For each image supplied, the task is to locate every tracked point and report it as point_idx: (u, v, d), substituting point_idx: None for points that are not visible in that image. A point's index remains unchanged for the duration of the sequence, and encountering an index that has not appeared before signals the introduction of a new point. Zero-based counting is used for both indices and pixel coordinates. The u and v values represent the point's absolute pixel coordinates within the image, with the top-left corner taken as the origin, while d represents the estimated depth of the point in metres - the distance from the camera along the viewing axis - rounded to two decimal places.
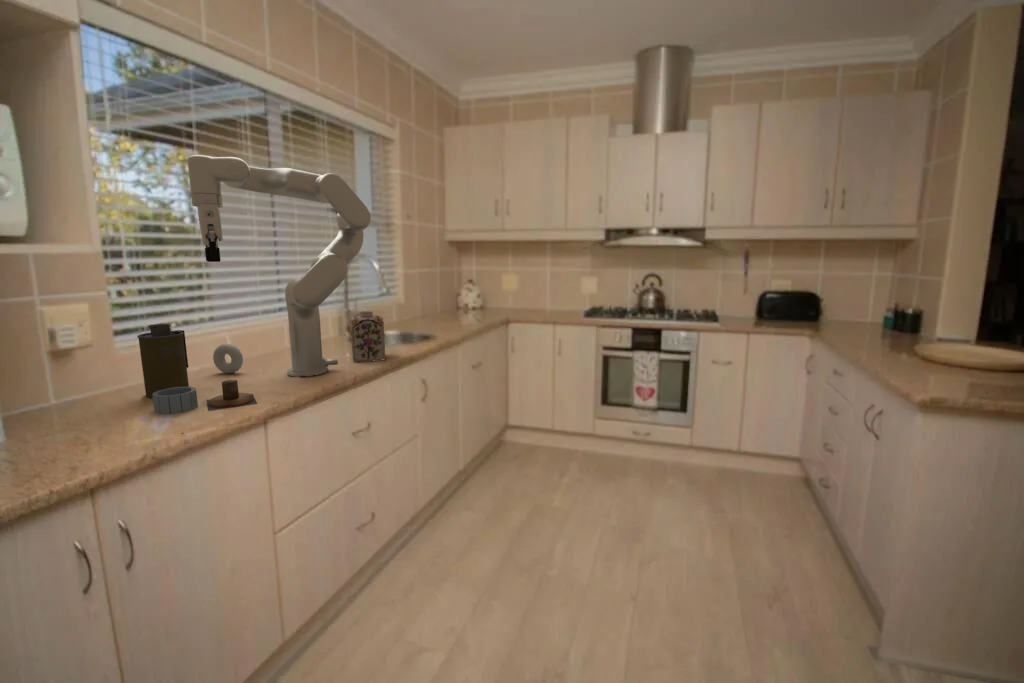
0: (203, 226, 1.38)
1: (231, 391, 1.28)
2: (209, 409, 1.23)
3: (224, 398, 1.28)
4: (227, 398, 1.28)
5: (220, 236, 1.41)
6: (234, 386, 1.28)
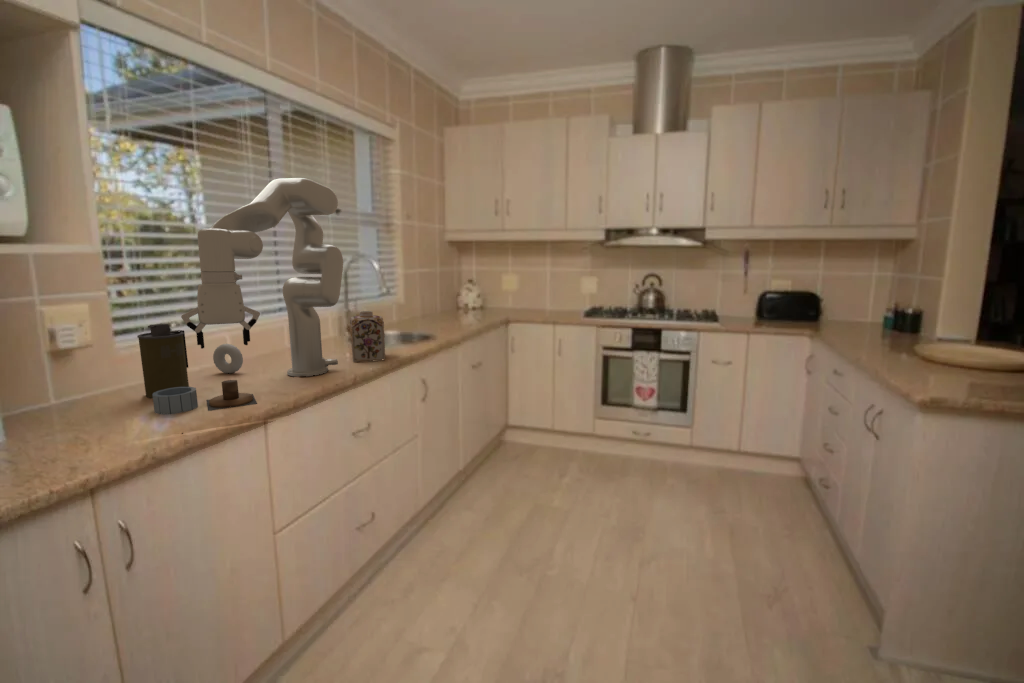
0: (243, 307, 1.27)
1: (231, 391, 1.28)
2: (209, 409, 1.23)
3: (224, 398, 1.28)
4: (227, 398, 1.28)
5: None
6: (234, 386, 1.28)
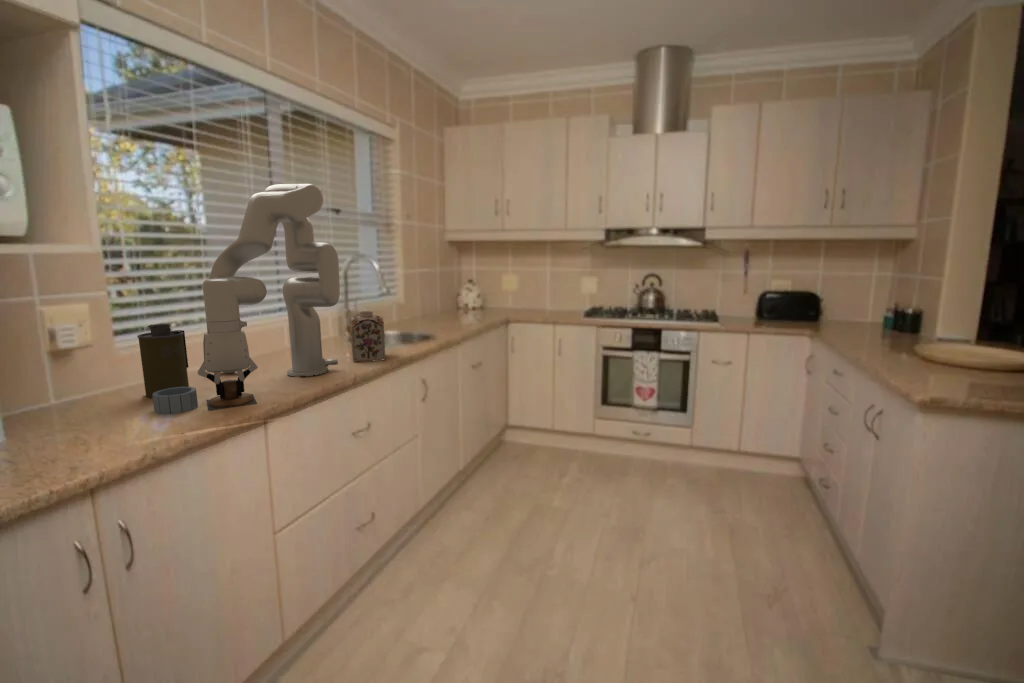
0: (248, 354, 1.29)
1: (231, 391, 1.28)
2: (209, 409, 1.23)
3: (224, 398, 1.28)
4: (227, 398, 1.28)
5: None
6: (234, 386, 1.28)
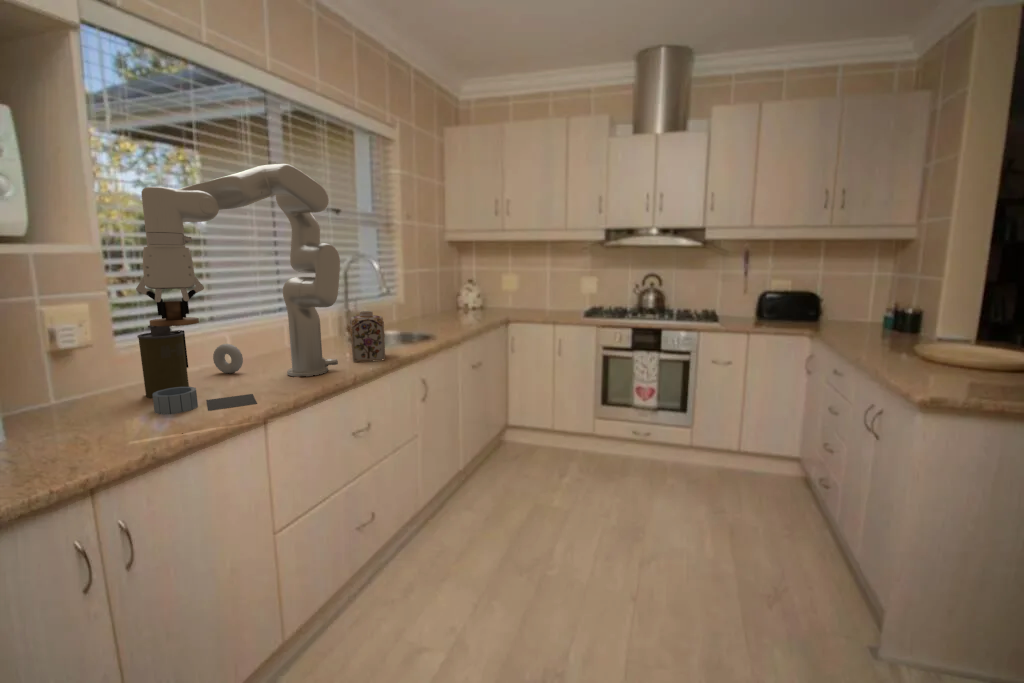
0: (193, 272, 1.20)
1: (173, 311, 1.19)
2: (209, 409, 1.23)
3: (166, 318, 1.19)
4: (169, 318, 1.19)
5: None
6: (177, 305, 1.20)
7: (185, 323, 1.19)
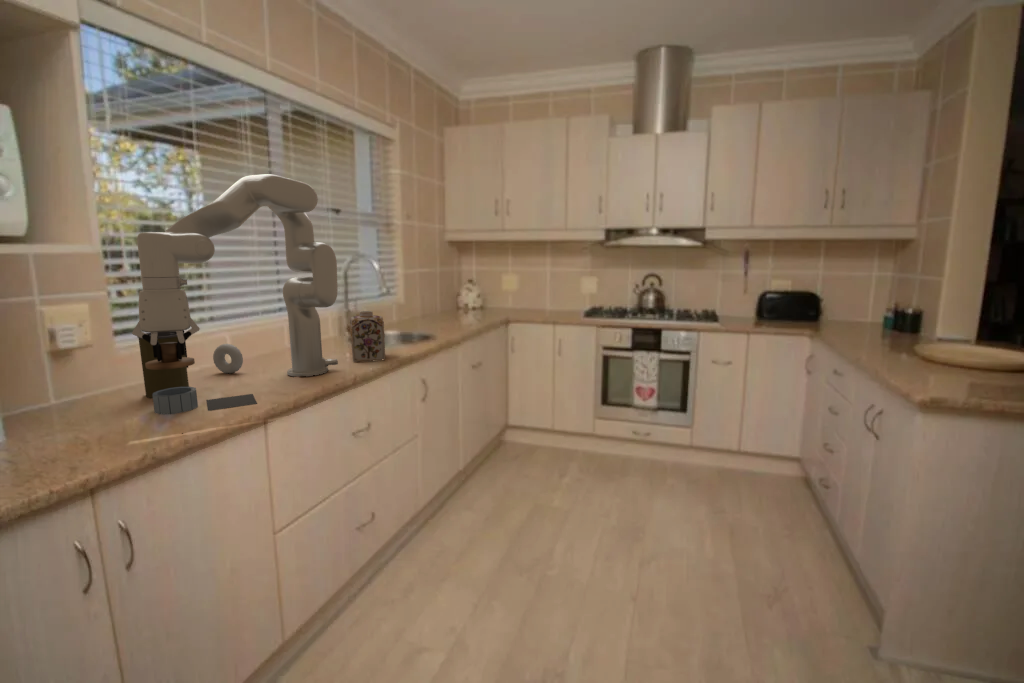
0: (188, 314, 1.21)
1: (169, 353, 1.20)
2: (209, 409, 1.23)
3: (162, 360, 1.20)
4: (165, 360, 1.20)
5: None
6: (172, 347, 1.21)
7: (180, 366, 1.19)
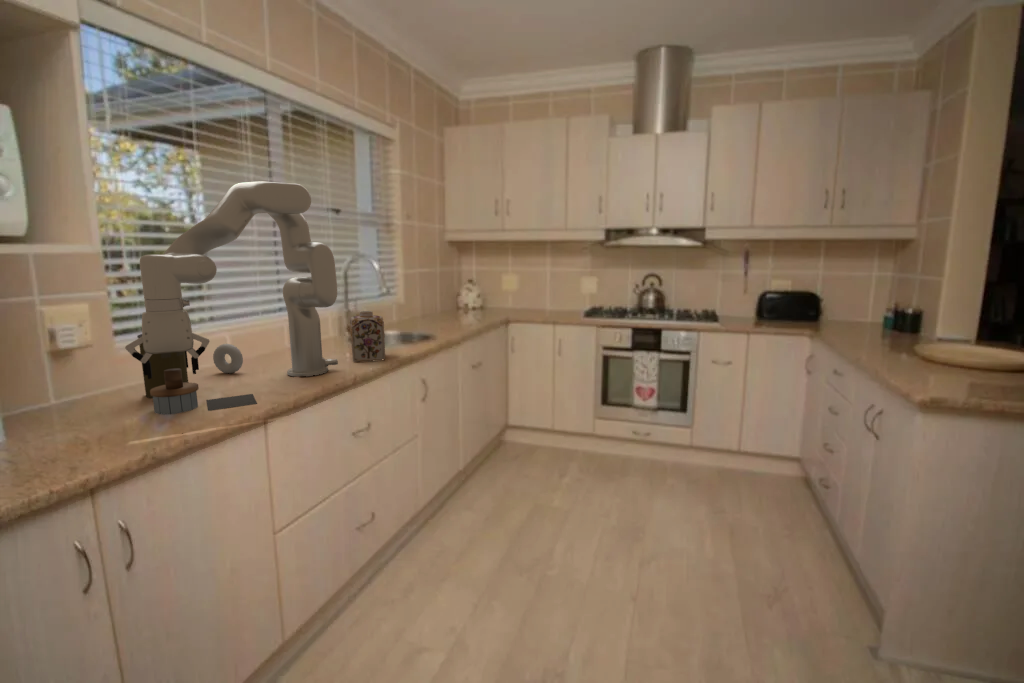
0: (191, 335, 1.22)
1: (173, 380, 1.22)
2: (209, 409, 1.23)
3: (166, 387, 1.22)
4: (169, 387, 1.22)
5: None
6: (176, 374, 1.22)
7: (184, 392, 1.21)
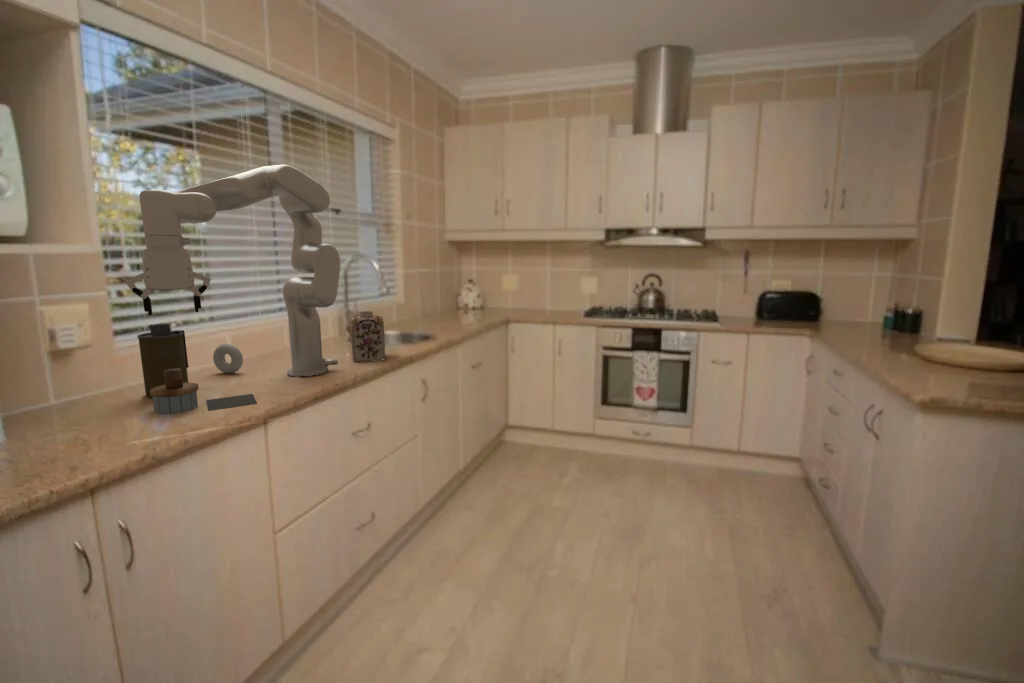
0: (192, 273, 1.23)
1: (173, 380, 1.22)
2: (209, 409, 1.23)
3: (166, 387, 1.22)
4: (169, 387, 1.22)
5: None
6: (176, 374, 1.22)
7: (184, 392, 1.21)
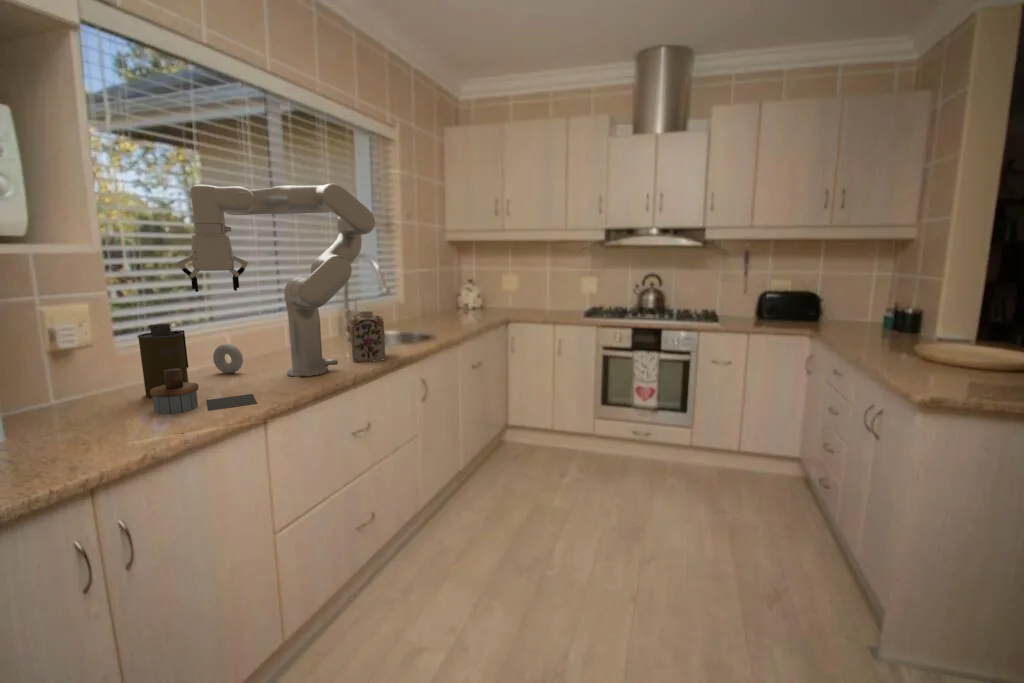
0: (232, 256, 1.43)
1: (173, 380, 1.22)
2: (209, 409, 1.23)
3: (166, 387, 1.22)
4: (169, 387, 1.22)
5: None
6: (176, 374, 1.22)
7: (184, 392, 1.21)
